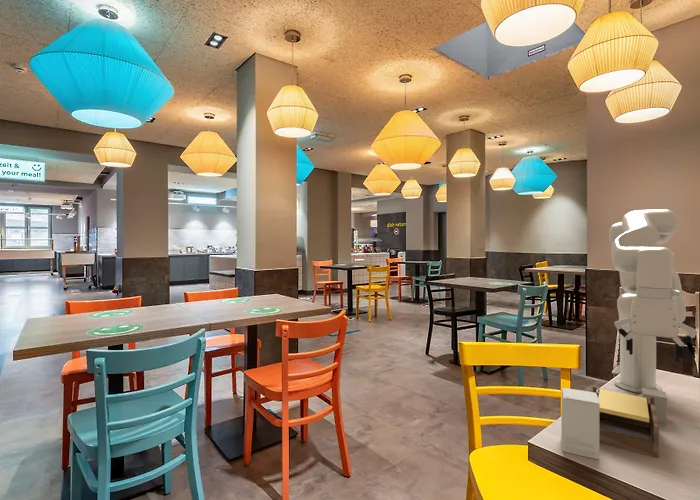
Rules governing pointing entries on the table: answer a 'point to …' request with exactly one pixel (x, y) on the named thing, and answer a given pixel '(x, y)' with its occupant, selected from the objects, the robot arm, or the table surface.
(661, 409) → the plain grey carton
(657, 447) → the trapdoor frame
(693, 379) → the table surface
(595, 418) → the supplement box
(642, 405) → the trapdoor
